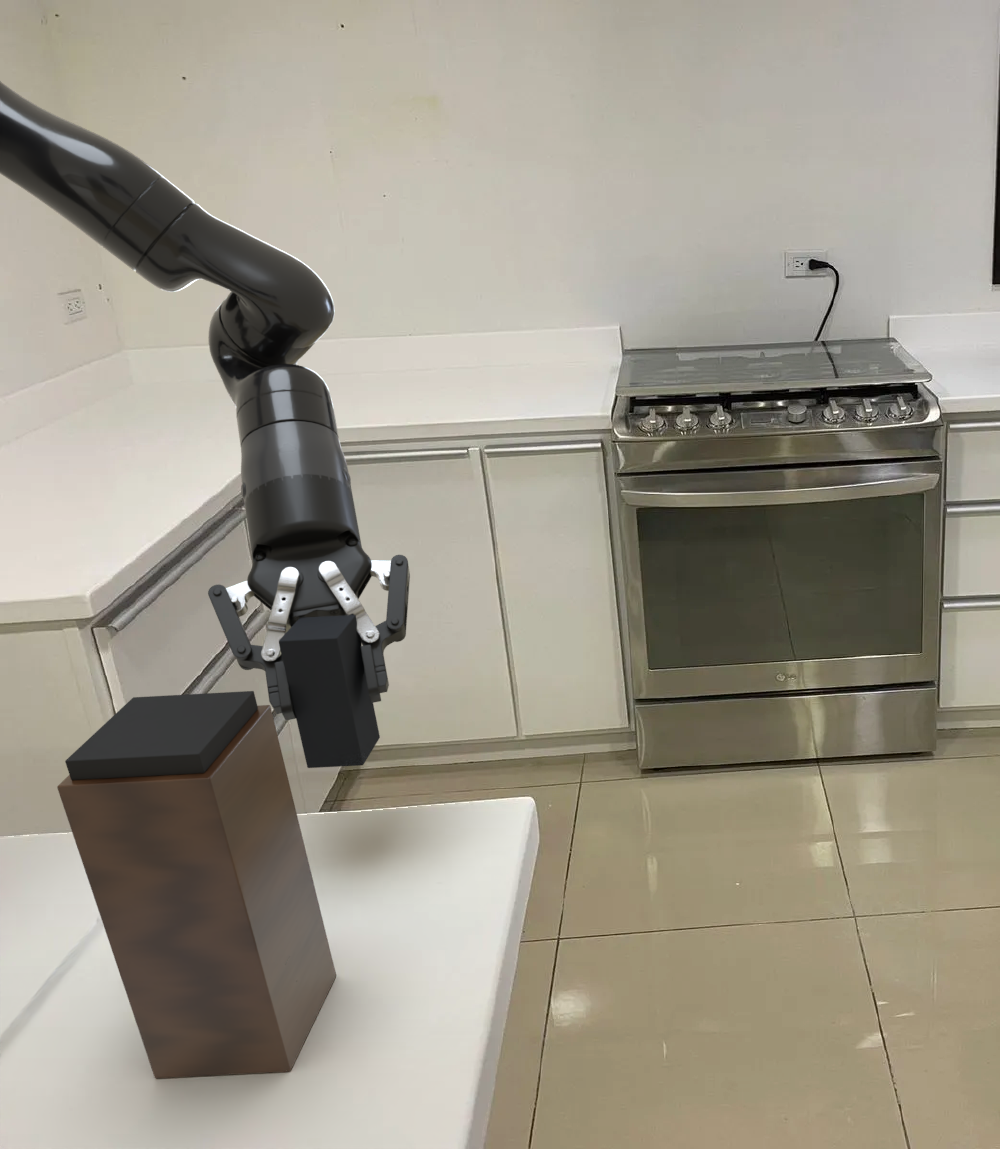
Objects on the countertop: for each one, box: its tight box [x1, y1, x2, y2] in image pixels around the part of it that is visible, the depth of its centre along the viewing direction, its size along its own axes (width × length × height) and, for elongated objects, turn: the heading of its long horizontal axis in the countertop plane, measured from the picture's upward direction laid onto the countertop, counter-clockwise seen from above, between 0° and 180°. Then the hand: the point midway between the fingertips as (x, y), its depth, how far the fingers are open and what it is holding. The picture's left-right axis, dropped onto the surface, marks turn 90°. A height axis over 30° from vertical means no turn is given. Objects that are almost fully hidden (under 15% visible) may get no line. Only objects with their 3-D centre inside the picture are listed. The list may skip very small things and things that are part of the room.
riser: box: [56, 704, 337, 1079], centre depth 65 cm, size 8×8×20 cm
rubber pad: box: [64, 690, 259, 780], centre depth 61 cm, size 7×7×1 cm
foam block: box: [279, 615, 381, 769], centre depth 79 cm, size 4×4×10 cm
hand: (332, 706), depth 78 cm, fingers closed on foam block, 5 cm apart
